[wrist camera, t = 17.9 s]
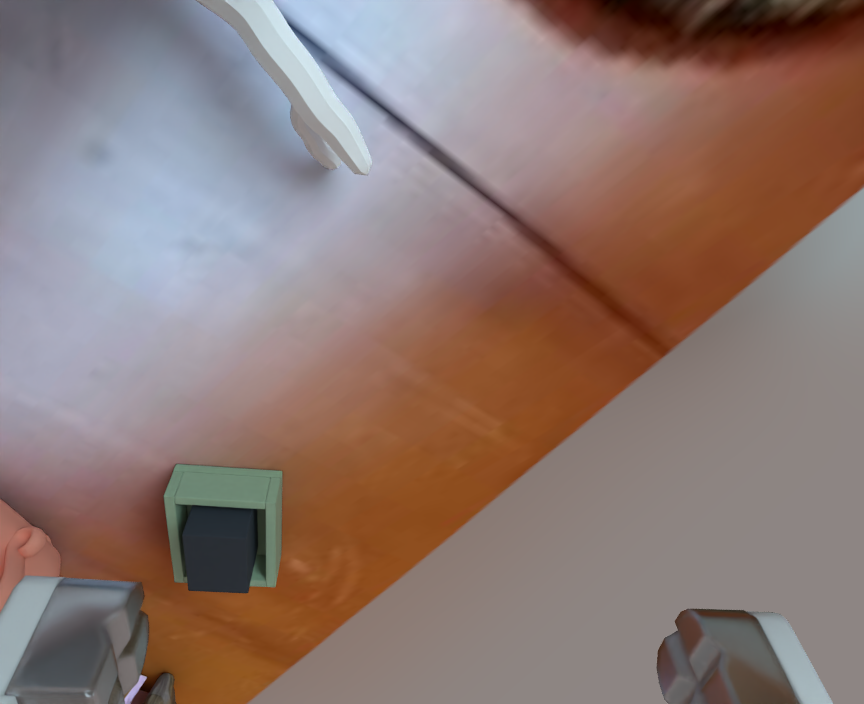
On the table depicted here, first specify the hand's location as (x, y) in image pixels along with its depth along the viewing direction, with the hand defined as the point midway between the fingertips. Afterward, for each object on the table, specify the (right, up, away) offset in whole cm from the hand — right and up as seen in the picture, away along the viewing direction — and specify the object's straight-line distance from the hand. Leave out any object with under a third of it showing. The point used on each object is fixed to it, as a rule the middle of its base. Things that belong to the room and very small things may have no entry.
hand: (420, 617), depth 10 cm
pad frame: (-12, -6, +31) cm, 34 cm away
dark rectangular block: (-12, -6, +31) cm, 34 cm away
